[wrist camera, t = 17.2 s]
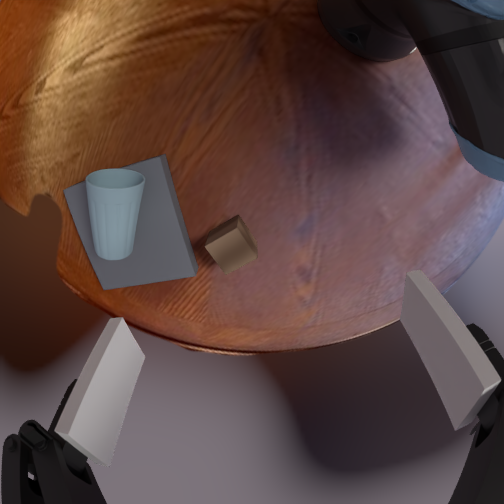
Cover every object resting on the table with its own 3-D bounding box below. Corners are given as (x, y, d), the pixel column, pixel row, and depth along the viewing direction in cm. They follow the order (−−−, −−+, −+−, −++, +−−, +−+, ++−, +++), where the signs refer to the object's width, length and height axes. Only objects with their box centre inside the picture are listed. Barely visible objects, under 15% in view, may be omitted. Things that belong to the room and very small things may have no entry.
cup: (94, 233, 38) (94, 166, 33) (142, 237, 41) (148, 170, 35) (82, 262, 32) (78, 186, 27) (137, 267, 34) (142, 190, 29)
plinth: (71, 185, 38) (63, 190, 35) (165, 153, 36) (159, 156, 34) (109, 282, 46) (103, 290, 44) (198, 267, 44) (195, 276, 42)
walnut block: (209, 231, 42) (204, 246, 37) (238, 214, 40) (236, 227, 36) (228, 257, 43) (225, 274, 39) (257, 241, 42) (257, 258, 38)
